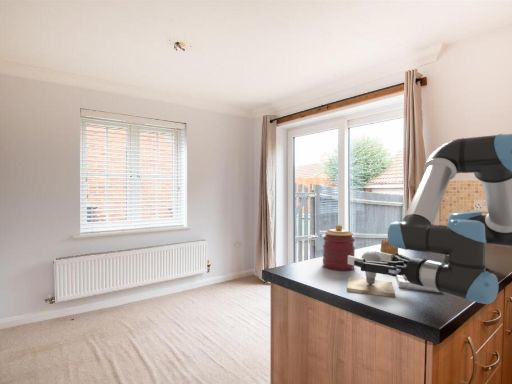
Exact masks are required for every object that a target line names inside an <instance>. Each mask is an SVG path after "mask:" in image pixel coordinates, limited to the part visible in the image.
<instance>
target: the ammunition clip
mask: <svg viewBox="0 0 512 384" xmlns="http://www.w3.org/2000/svg"><path fill="white" fill-rule="evenodd" d="M379 252H382V253H387V254H392V255H393V256H394V255H397V256H399V255H400V254H399V248H397V247H393V246H392V245H391V244H390V243H389V240H388V238H387V239H386V238H385V239H384V238H382V239H381V243H380V251H379ZM381 262H385V261H381ZM390 266H392V264H391V265H390Z"/></svg>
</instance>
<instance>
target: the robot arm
mask: <svg viewBox="0 0 512 384" xmlns="http://www.w3.org/2000/svg"><path fill="white" fill-rule="evenodd" d="M423 173H424V174H423V175H422V178H421V180H420V182H419V184H418V186H417V189H416V191H415V193H414V195H413V197H412V200H411V202H410V204H409V206H408V209H407V211H406V213H405V215H404V217H403V219H402V221H399V220H398V221H392V222H391V223H390V224H389V226H388V230H387V239H388V240H389V243H390V244H391V245H392V246H393V247H397V248H398V249H402V250H405V251H407V250H408V251H415V252H423V253H428V254H435V255H440V256H443V257H442V262H441V261H437V260H432V259H426V258H422V257H415V256H413V257H408V256H406V255H403V254H399V256H397V255H394V256H393V255H392V254H387V253H382V252H380V251H377V250H373V252H375V253H377V254H378V255H379V256H380V259H381V261H385V262H374V261H366V260H365V258H363V259H361V258H362V257H361V258H360V257H357V256H355V255H354V256H350V255H349V256H348V264H350V265H353V266H354V267H356V268H360V271H361V272H365V271H366V272H373V273H376V274H380V275H387V276H391V277H395V276H397V275H402V276H403V275H405V276H406V278H407V280H406V281H409V282H410V283H412V284H416V285H419V286H424V287H427V288H430V289H434V290H435V292H436V293H444V294H448V295H451V296H455V297H458V298H460V299H463V300H466V301H471V302H475V303H479V304H483V305H490V304H492V303H494V302H495V301H496V298H497V296H498V293H499V287H500V286H499V282H498V277H497V275H496V274H494V273H492V272H489V271H487V263H486V248H487V245H491V246H492V245H493V246H499V247H501V246H502V247H508V248H512V133H499V134H493V135H486V136H485V135H483V136H473V137H462V138H456V139H453V140H450V141H448V142H446V143H444V144H442V145H441V146H439V147H438V148H436V150H435V151H433V152H432V153H431V154H430V155H429V157H428V158H427V159H426V161H425V163H424V165H423ZM457 174H474V177H475V178H476V179H477V180H478V181H480V182H481V185H482V189H483V194H484V199H485V203H486V208H487V212H488V213H487V214H486V215H485V214H483V213H482V211H461V212H451V213H449V215H448V218H447V225H438V224H434V223H435V220H436V217H437V214H438V211H439V209H440V206H441V204H442V201H443V199H444V197H445V194H446V191H447V189H448V186H449V183H450V181H451V180H452V179H454V178H455V177H456V175H457ZM391 264H392V266H390V265H391ZM395 278H396V277H395ZM439 291H441V292H439ZM435 292H434V293H435Z"/></svg>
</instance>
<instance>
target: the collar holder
mask: <svg viewBox="0 0 512 384" xmlns="http://www.w3.org/2000/svg"><path fill="white" fill-rule="evenodd" d="M395 281H396V283H397V286H398V288H399V289H407V290H408V289H409V290H418V291H424V292H425V291H426V292H434V293H435V290H434V289H430V288H427V287H424V286H419V285H416V284H412V283H410V282H409V281H408V280H407V278H406V276H405V275H403V276H402V275H397V276H395ZM438 293H442V292H441V291H439V292H438Z"/></svg>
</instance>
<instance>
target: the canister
mask: <svg viewBox="0 0 512 384" xmlns="http://www.w3.org/2000/svg"><path fill="white" fill-rule="evenodd" d="M324 234H325V236H323V237H322V240H323V241H324V242H323V245H322V247H323V249H322V251H323V252H322V266H323V267H324V268H325V269H329V270H333V271H334V270H335V271H351V270H353V269H355V266H353V265H350V264H348V256H349V255H350V256H354V257H355V251H356V247H355V243H354V242H355V241H356V239H355V238H354V237H353V235H354V233H353V232H352V231H350V230H349V229H345V228H344V229H343V226H342V225H341V224H337V225H336V226H335V228H331V229H330V228H329V229H328V230H326V231H324Z"/></svg>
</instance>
